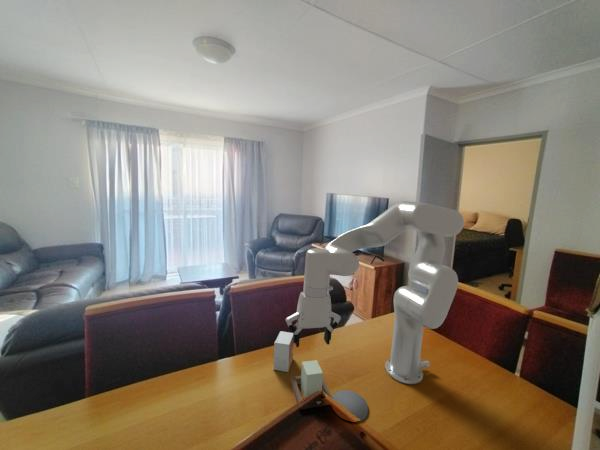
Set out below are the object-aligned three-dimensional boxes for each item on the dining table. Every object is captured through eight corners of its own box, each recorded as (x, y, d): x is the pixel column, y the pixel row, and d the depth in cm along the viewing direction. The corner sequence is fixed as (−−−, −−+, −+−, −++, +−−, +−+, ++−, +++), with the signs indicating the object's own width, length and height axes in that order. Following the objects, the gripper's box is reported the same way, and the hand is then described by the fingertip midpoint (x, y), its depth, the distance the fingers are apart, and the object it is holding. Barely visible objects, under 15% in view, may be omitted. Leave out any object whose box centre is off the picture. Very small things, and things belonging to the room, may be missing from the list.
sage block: (315, 385, 85) (316, 360, 83) (321, 399, 79) (322, 372, 78) (300, 387, 83) (302, 361, 82) (305, 402, 78) (306, 374, 76)
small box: (288, 373, 90) (289, 345, 88) (272, 370, 91) (273, 342, 89) (293, 358, 97) (294, 332, 96) (279, 356, 98) (280, 330, 97)
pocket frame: (320, 377, 88) (320, 372, 88) (332, 405, 77) (332, 399, 77) (290, 382, 85) (291, 376, 85) (299, 410, 74) (299, 404, 74)
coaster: (357, 389, 83) (357, 387, 83) (375, 418, 73) (375, 416, 73) (325, 394, 81) (325, 392, 81) (339, 425, 70) (339, 423, 70)
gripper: (338, 284, 82) (333, 334, 84) (285, 286, 78) (282, 338, 80) (347, 294, 75) (342, 348, 77) (290, 296, 71) (286, 353, 73)
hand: (311, 343), depth 79 cm, fingers open, 9 cm apart
